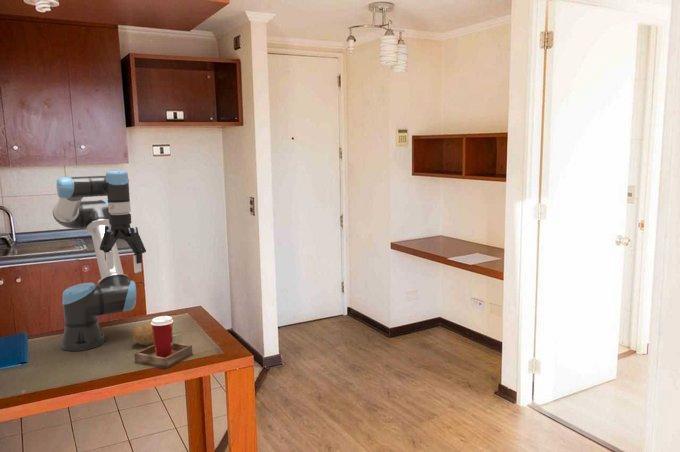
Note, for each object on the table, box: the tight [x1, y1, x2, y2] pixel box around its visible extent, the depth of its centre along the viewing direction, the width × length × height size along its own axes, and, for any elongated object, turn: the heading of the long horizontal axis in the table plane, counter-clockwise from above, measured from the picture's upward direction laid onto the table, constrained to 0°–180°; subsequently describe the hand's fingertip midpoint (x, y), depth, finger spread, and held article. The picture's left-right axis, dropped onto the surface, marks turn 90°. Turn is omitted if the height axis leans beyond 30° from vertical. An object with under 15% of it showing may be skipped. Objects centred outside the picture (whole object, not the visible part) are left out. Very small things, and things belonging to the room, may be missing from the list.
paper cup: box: [150, 315, 174, 358], centre depth 195 cm, size 8×8×14 cm
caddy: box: [134, 341, 193, 370], centre depth 196 cm, size 14×14×4 cm
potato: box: [131, 322, 154, 346], centre depth 212 cm, size 10×14×8 cm
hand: (124, 270), depth 201 cm, fingers open, 13 cm apart
